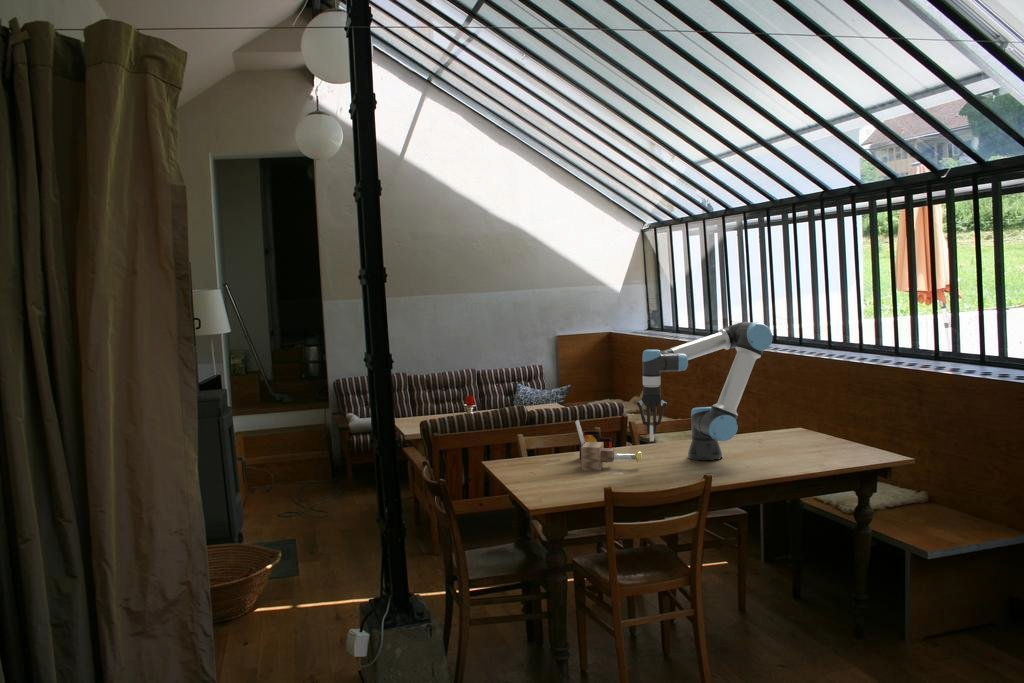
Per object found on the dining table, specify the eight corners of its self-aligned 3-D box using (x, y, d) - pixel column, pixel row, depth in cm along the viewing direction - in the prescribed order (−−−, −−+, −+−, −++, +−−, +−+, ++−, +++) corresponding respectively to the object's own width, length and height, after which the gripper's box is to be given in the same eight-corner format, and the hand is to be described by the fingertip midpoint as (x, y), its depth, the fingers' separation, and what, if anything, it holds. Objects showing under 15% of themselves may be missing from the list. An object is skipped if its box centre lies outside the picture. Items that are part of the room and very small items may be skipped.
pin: (641, 461, 363) (641, 450, 363) (640, 463, 359) (640, 452, 358) (595, 460, 368) (595, 449, 368) (594, 462, 364) (594, 451, 363)
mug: (612, 460, 381) (611, 433, 380) (582, 461, 378) (582, 435, 377) (606, 455, 390) (605, 430, 389) (577, 457, 388) (576, 431, 387)
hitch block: (615, 464, 370) (614, 440, 369) (611, 470, 358) (611, 445, 358) (585, 464, 373) (584, 439, 372) (580, 470, 362) (579, 444, 361)
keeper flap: (578, 419, 369) (576, 420, 369) (576, 421, 364) (575, 421, 365) (585, 441, 369) (583, 442, 369) (583, 443, 364) (581, 444, 365)
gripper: (667, 385, 359) (667, 439, 361) (637, 384, 363) (637, 438, 364) (666, 387, 352) (666, 442, 354) (635, 386, 355) (635, 441, 357)
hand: (651, 440), depth 359 cm, fingers closed
